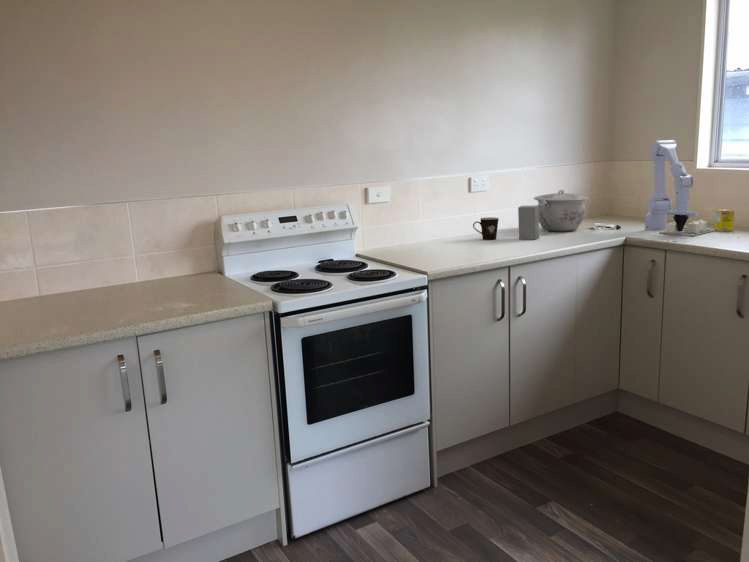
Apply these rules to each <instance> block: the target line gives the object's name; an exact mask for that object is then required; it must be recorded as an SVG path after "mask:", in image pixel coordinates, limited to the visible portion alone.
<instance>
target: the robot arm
mask: <svg viewBox="0 0 749 562" xmlns="http://www.w3.org/2000/svg"><path fill="white" fill-rule="evenodd" d="M677 147H678V146H677V142H676V140H675V139H670V140H669V139H668V140H666V139H665V140H654V141H653V142H652V144H651V145H650V156H651V159H653V189H654V191H653V192H654V193H653V194H651V195H650V196H649V197H648V203H647V210H648V213H646V215H645V221H644V229H643V231H644V232H647V231H650V230H666V227H667V224H668V216H673V217H672V218H673V220H674V222H676V225H677V230H678V231H679V232H681V231H682V232H684V231H683V227H685V224H686V222H687V221H688V219H689V218H690V217H693V218H694V217H695V218H697V217H699V212H698V211H697V212H696V211H689V207H690V194H691V193H690V191H691V188H692V187H693V184H694V178H693V176H692V175H691V174H689V173H687V169H686V168H685V166H684V164H683V163H681V162H680V161H679V158H678V154H677V152H676V150H677ZM666 160H667V161H668V163H669V164H670V168H669V169H670V172H671V174H672V177H673V178H674V181H673V186H674V192H675V200H674V201H675V202H674V210H672V207H673V203H672V199H671V198H672V197H671V196H670V194H668V193H666V189H667V187H666Z"/></svg>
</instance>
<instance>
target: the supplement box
mask: <svg viewBox="0 0 749 562" xmlns="http://www.w3.org/2000/svg"><path fill="white" fill-rule="evenodd" d="M734 219H735V210H731V209H715V217H714V230H717V231H718V232H730V231H731V232H732V231H733V230H734Z"/></svg>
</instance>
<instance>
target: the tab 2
mask: <svg viewBox="0 0 749 562" xmlns="http://www.w3.org/2000/svg"><path fill="white" fill-rule="evenodd" d="M696 223H700V231H706V229H708V228H707V227H708V225H707V224H708V221H704V219H699V220H697V222H696Z"/></svg>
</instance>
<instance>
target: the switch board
mask: <svg viewBox="0 0 749 562" xmlns="http://www.w3.org/2000/svg"><path fill="white" fill-rule="evenodd" d="M717 231H718V230H715V229H710V228H707V229H706V231H700V233H695V232H687V227H686V226H684V227H683V231H681V232H679V233H671V232H666V230H664V231H661V232H658V234H659V235H667V236H668V235H670V236H680V237H689V238H694V237H698V236H702V235H707V234H711V233H714V232H717Z"/></svg>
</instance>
